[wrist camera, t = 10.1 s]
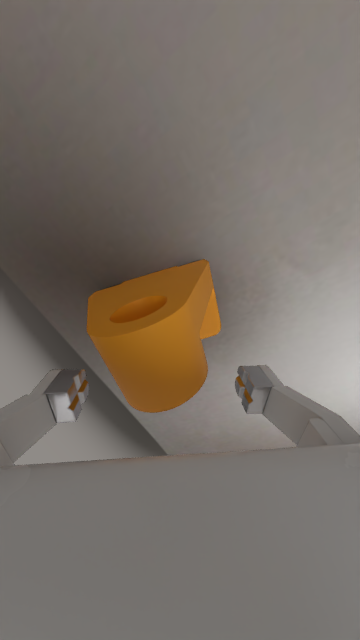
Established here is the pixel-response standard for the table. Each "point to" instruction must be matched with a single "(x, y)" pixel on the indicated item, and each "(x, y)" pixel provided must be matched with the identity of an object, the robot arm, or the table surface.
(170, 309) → the bracket
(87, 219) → the table surface
